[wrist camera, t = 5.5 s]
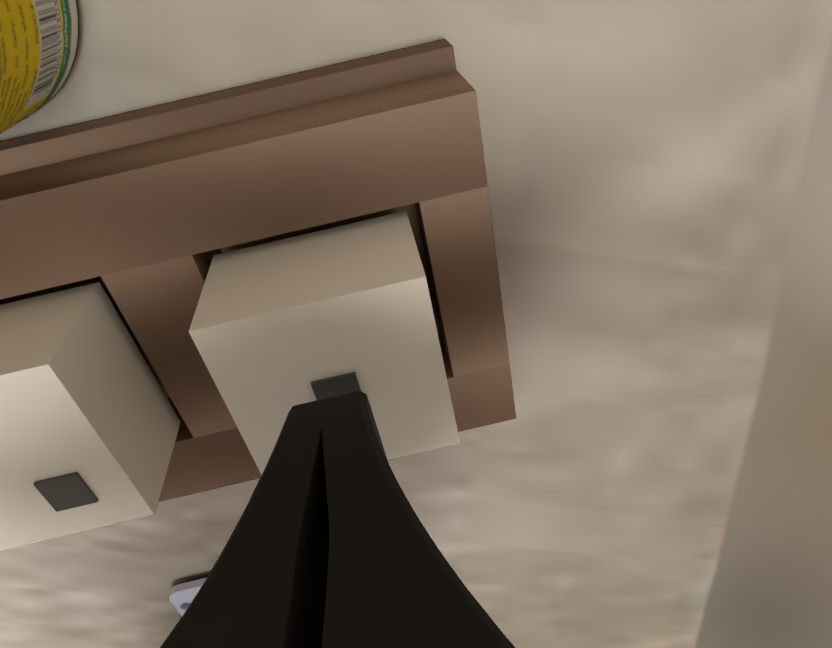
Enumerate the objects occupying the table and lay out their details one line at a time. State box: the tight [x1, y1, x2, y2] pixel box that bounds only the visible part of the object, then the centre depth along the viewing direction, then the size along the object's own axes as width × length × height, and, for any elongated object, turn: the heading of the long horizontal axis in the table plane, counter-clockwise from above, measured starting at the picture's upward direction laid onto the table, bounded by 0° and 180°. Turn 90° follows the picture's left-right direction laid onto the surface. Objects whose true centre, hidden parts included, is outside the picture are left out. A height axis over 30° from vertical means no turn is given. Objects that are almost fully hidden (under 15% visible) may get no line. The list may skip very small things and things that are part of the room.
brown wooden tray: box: [0, 39, 516, 502], centre depth 15 cm, size 10×22×3 cm, turn 101°
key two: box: [0, 282, 181, 551], centre depth 13 cm, size 4×4×3 cm
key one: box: [189, 211, 460, 475], centre depth 13 cm, size 4×4×3 cm
